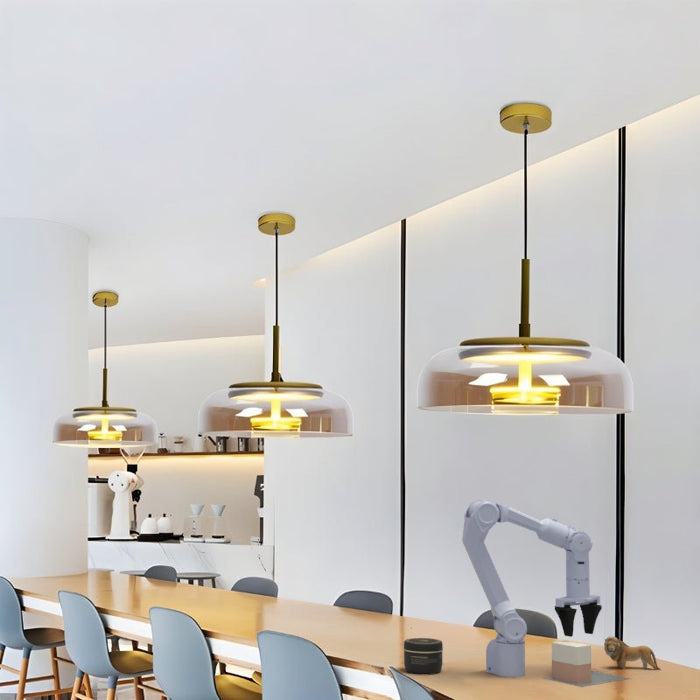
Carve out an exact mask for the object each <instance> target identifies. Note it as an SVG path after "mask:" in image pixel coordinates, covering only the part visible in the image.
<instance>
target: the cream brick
mask: <svg viewBox="0 0 700 700" xmlns="http://www.w3.org/2000/svg"><path fill="white" fill-rule="evenodd" d="M552 660H553V661H558V662H563V663H568V664H573V665H583V664H590V663H591V664H592V645H591V644H585V643H581V642H574V641H569V640H561V641H560V640H559V641H554V642H553V641H552V642H551V661H552Z"/></svg>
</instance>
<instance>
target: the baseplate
mask: <svg viewBox="0 0 700 700" xmlns="http://www.w3.org/2000/svg"><path fill="white" fill-rule="evenodd" d="M542 679H544V680H548V681H552V682H557V683H562V684H567V685H570V686H571V685H572V686H575V687H578V688H579V687H580V688H584V687H590V686H595V685H603V684H607V683H613V682H619V681H626V680H632V678H630V677H626V676H622V675H616V674H611V673H606V672H599V671H595V670H591V680H592V681H591V682H585V683H578V684H577V683H572V682H568V681H563V680H558V679H554V678H552V676H550V677H543V678H542Z"/></svg>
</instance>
